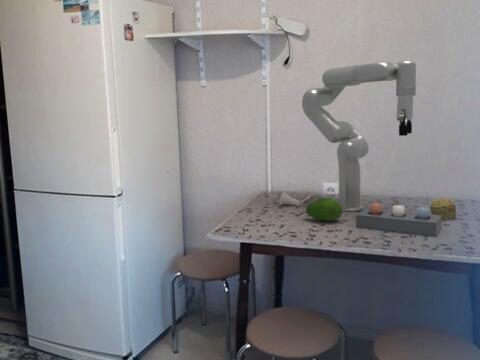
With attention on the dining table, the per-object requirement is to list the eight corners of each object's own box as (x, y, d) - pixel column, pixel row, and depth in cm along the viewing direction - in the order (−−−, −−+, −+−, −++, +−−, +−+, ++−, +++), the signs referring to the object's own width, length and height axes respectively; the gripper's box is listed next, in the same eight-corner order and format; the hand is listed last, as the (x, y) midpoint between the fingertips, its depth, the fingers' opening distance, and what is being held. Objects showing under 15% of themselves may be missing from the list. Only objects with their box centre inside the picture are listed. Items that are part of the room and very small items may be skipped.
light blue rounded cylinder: (415, 222, 186) (415, 209, 185) (417, 219, 190) (418, 206, 189) (427, 223, 184) (427, 210, 183) (429, 220, 188) (430, 207, 187)
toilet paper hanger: (297, 213, 230) (301, 198, 228) (277, 207, 233) (281, 191, 231) (309, 205, 251) (313, 190, 249) (291, 199, 254) (295, 185, 253)
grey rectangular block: (356, 227, 195) (356, 214, 194) (365, 219, 205) (365, 208, 204) (436, 236, 180) (436, 223, 179) (441, 227, 190) (442, 215, 189)
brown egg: (368, 217, 196) (368, 205, 195) (371, 214, 199) (371, 202, 198) (379, 218, 193) (379, 206, 192) (382, 215, 197) (382, 203, 196)
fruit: (303, 222, 205) (302, 199, 203) (310, 216, 214) (309, 194, 212) (339, 225, 198) (339, 201, 197) (344, 219, 207) (344, 196, 205)
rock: (452, 229, 199) (465, 208, 198) (427, 215, 200) (440, 194, 199) (446, 224, 209) (459, 204, 207) (422, 211, 210) (435, 191, 208)
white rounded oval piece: (391, 219, 191) (391, 207, 190) (394, 216, 195) (394, 204, 194) (402, 220, 189) (403, 208, 188) (405, 218, 192) (405, 205, 192)
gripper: (400, 92, 209) (400, 132, 212) (391, 93, 194) (391, 136, 197) (419, 91, 205) (418, 132, 208) (411, 92, 191) (411, 136, 193)
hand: (405, 134), depth 203 cm, fingers open, 9 cm apart
